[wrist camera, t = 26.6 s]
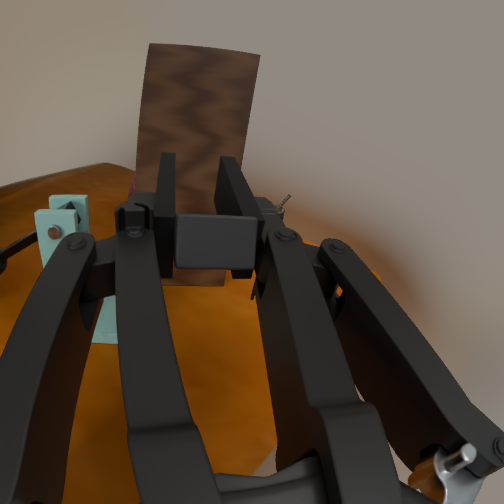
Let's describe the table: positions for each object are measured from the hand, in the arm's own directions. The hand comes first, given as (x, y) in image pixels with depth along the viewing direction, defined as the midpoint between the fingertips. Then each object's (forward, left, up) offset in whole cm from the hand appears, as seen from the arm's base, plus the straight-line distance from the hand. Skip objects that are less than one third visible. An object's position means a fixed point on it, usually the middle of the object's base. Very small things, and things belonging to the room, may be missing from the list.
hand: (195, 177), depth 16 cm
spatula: (0, +2, -5) cm, 5 cm away
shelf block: (+1, +25, -20) cm, 32 cm away
